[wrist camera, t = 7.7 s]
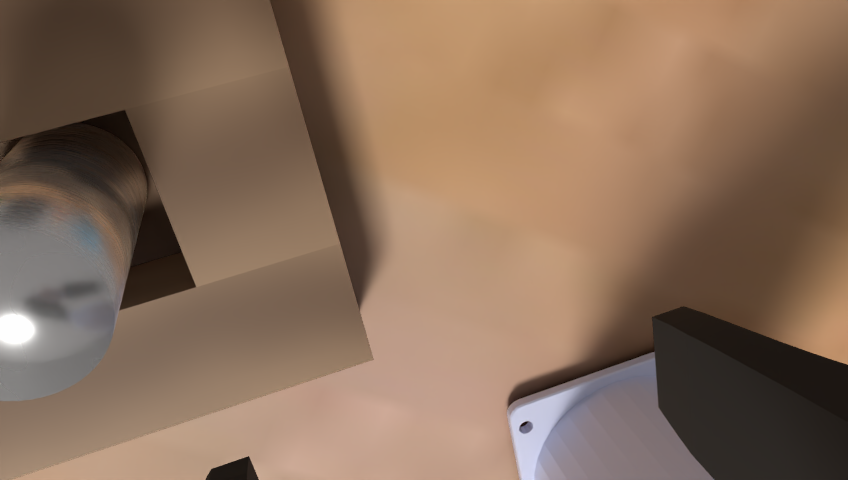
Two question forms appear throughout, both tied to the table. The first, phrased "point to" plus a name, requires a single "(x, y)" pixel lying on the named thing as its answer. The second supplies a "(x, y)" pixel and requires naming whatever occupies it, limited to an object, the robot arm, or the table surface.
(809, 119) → the table surface
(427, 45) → the table surface
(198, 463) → the table surface
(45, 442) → the socket block
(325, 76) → the table surface
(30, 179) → the long pin
